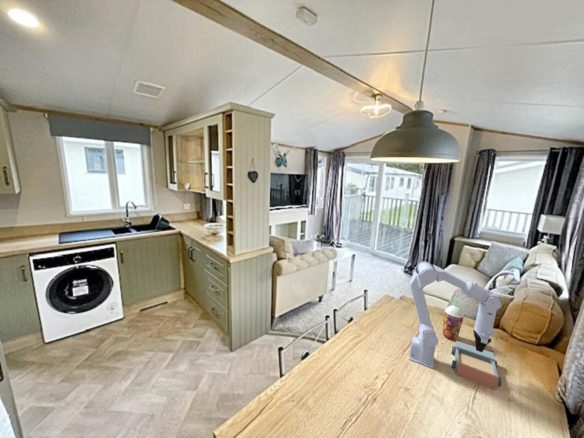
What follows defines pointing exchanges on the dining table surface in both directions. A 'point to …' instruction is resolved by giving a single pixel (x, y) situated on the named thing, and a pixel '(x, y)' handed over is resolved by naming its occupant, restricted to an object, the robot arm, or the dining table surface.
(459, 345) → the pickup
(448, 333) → the smoothie
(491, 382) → the tailgate
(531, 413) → the dining table surface
